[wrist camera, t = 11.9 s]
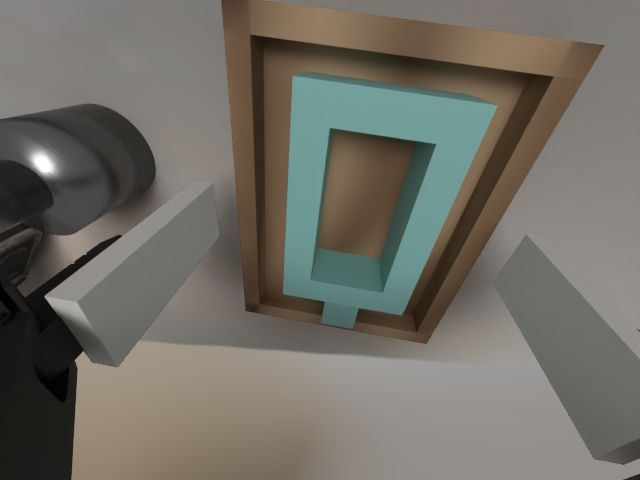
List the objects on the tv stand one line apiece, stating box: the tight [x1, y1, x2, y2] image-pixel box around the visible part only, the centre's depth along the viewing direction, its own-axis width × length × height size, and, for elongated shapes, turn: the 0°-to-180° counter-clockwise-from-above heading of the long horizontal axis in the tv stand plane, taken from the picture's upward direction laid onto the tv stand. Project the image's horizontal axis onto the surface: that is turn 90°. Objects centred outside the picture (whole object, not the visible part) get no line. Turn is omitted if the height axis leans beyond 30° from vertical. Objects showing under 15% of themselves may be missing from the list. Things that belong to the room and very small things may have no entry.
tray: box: [222, 0, 604, 344], centre depth 15 cm, size 13×17×2 cm
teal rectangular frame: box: [283, 71, 498, 329], centre depth 14 cm, size 13×7×3 cm, turn 173°
